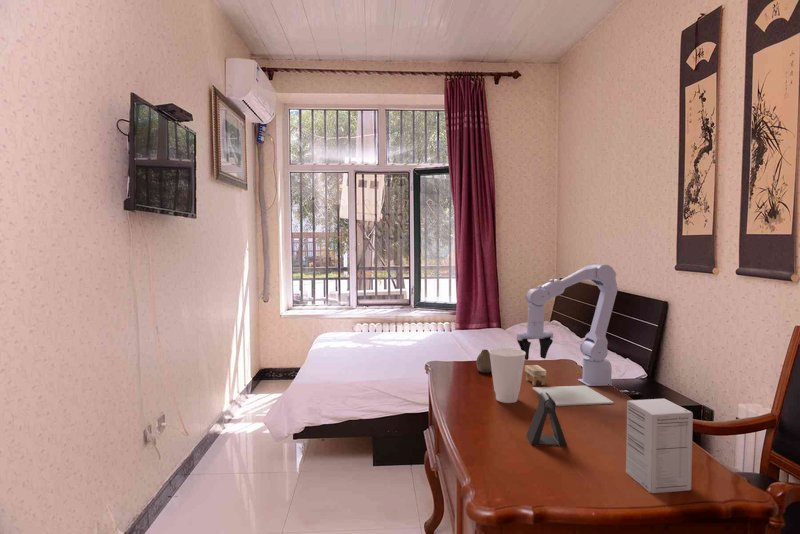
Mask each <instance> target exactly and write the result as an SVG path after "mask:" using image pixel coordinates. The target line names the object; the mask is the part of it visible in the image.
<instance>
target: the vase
mask: <svg viewBox="0 0 800 534" xmlns="http://www.w3.org/2000/svg"><path fill="white" fill-rule="evenodd" d="M489 351H490V350H489V349H482V350H481V351H480V353H479V354H478V356H477V358H476V363H475V364H476V368H477V370H478V371H479V372H480V373H485V374H487V373H488V374H489V373H492V369H491V361H490V353H489Z"/></svg>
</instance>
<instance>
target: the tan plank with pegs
mask: <svg viewBox="0 0 800 534" xmlns="http://www.w3.org/2000/svg"><path fill="white" fill-rule="evenodd" d="M524 372H525V381H527V382H530V376H531V377H532V386H533V387H537V380H538V381H539V377H540V378H541V380H540V381H541V382H540V383H541V384H540V385H541V386H545V385H546V384H545V383H546V377H547V370H546V369H545V368H543V367H541V366H540V365H538V364H533V365H531V364H530V365H528V364H527V365H525V364H524Z"/></svg>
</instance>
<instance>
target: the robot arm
mask: <svg viewBox="0 0 800 534" xmlns="http://www.w3.org/2000/svg"><path fill="white" fill-rule="evenodd" d="M616 277H617V272H616V271H615V270H614V268H613V267H612V266H611V265H609V264H598V263H591V264H589V265H586V266H583V267H582V268H580V269H579V270H577V271H575V272H573V273H571V274H569V275H567V276H565V277H564V278H562V279H557V278H554V279H553V278H551V279H548V282H545V283H544V284H539V285H537V288H530V289H529V290H528V292H527V293H526V295H525V299H526V301H527V324H526V325H527V327H526V328H527V329H526V332H525V333H517V334H516V340H517V343H518V345H519V348H520V350H522V351H524V352H526V355H525V360H526V361H528V360H529V359H530V358H529V354H530V346H531V343H532V342H531V341H529V340H538V341H539V348H540V350H539V351H540V353H539V355H540V358H541V359H544V360H545V359H546V358H547V355H548V351H549V348H550V347H551V345H552V344H553V342H554V341H553V339H554V333H553V332H551V331H550V332H549V331H548V332H547V331H546V332H544V328H545V327H544V326H545V325H544V323H545V322H544V321H545V304H547V302H548V301H549V300H551V299H553V298H555V297H558V296H560V295H561V294H563V293H564V292H565V289H566V288H568V287H571V286H573V285H575V284H577V283H580V282H582V281H586V280H587V281H588V280H589V281H591V282H592V283H594V284H595V285H596V286H597V288H598V289H599V291H600V292H599V296H598V300H597V303H596V306H595V311H594V315H593V318H592V322H591V326H590V328H589V329H590V331H588V332H587V333H586V335H585V336H584V339H583V340H582V341H581V343H580V346H579V349H580V352H581V353H582V378H578V379H577V381H579V382H580V383H582V384H584V386H585V385H586V386H587V387H598V386H599V387H600V386H601V387H603V386H606V387H607V386H613V383H612V370H613V369H612V364H611V361H610V360H609V359H607V356H608V354H609V353H608V343H609V341H608V339H607V336H606V335H607V331H608V327H609V323H610V319H611V317H612V313H613V308H614V304H615V300H616V296H617V293H618V284H617V279H616ZM525 360H524V361H525ZM606 383H607V384H606ZM608 384H609V385H608Z"/></svg>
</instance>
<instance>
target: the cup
mask: <svg viewBox="0 0 800 534" xmlns="http://www.w3.org/2000/svg"><path fill="white" fill-rule="evenodd" d="M488 351H489V353H490V361H491V369H492V371H491V375H492V382H493V391H494V392H495V400H496V401H498V402H500V403H504V404H512V403H513V404H514V403H517V402H518V398H519V394H520V391H521V385H522V379H523V372H524V368H525V355H526V352H524V351H522V350H521V349H518V348H511V347H497V348H491V349H489V350H488Z"/></svg>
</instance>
